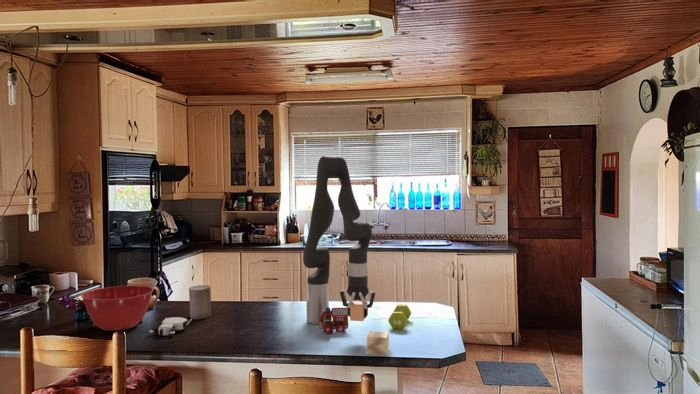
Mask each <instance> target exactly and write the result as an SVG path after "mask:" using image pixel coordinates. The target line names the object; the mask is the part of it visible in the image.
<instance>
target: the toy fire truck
mask: <svg viewBox="0 0 700 394" xmlns="http://www.w3.org/2000/svg"><path fill="white" fill-rule="evenodd" d="M324 317H325V322H324ZM323 322H324V323H323ZM318 328H319V329H320V330H322V331H323V333H324V334H326V335H330V334H332V333H333V331H334V330H335V332H336V333H339V334H340V333H342V334H345V332H346V330H347V329H349V316H348V308H347V307H332V308H331V307H327V308H326V311H324V312H323V314H322V316H321V318H320V320H319V324H318Z"/></svg>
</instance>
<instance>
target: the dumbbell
mask: <svg viewBox="0 0 700 394" xmlns="http://www.w3.org/2000/svg"><path fill="white" fill-rule="evenodd" d="M411 315H412V311H411V309H410V307H409V305H407V304H404V303H403V304H397V305H396V306H395V308H394V310H393V312H392V313H391V314H390V316H389V318H388V323H389V325H390V327H391V329H392V330H398V331H400V330H403V329H404V328H405V327H406V325H407V323H408V320H409V319H410V317H411Z"/></svg>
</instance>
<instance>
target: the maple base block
mask: <svg viewBox="0 0 700 394" xmlns="http://www.w3.org/2000/svg"><path fill="white" fill-rule="evenodd" d="M389 334H390V333H389V331H375V330H374V331H371V330H369V331H368V334H367V336H366V352H367V354H366V355H372V354H386V355H385V356H388V355H387V352H388V349H389V348H390V344H389V343H390V341H389V339H390V338H389Z"/></svg>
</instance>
